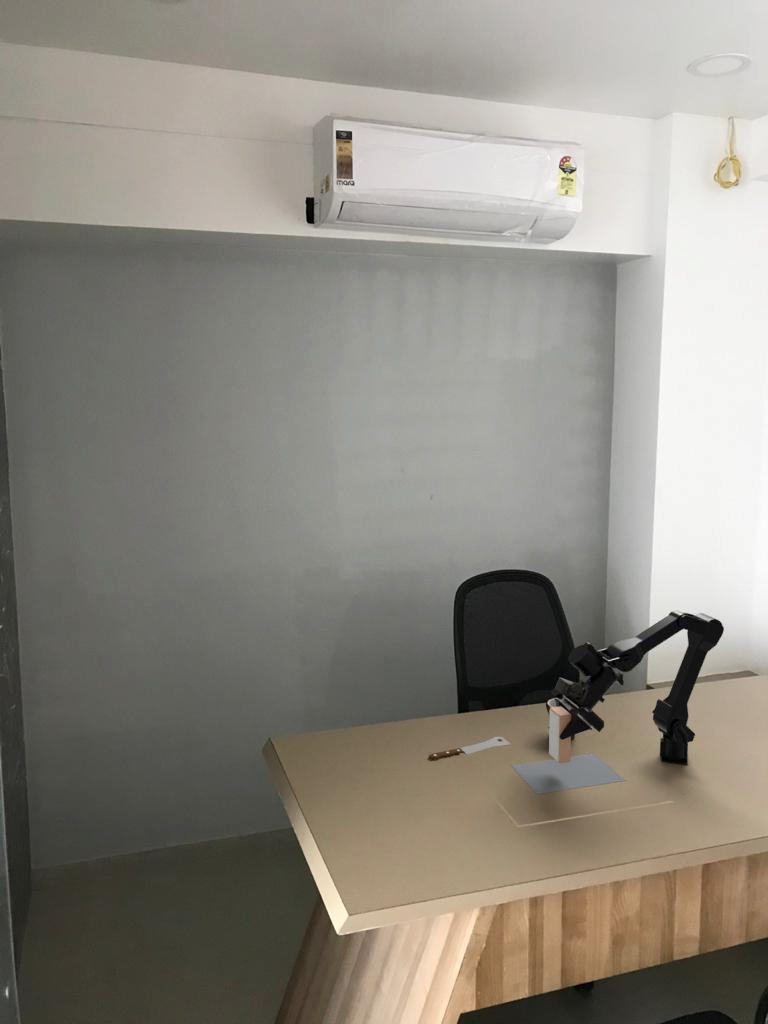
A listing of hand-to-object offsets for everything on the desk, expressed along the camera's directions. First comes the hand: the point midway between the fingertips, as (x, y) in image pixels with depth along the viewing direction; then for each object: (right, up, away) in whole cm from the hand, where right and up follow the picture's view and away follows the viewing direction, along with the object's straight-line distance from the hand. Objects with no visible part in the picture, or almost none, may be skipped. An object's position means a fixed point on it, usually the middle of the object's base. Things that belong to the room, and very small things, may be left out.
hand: (555, 733), depth 218 cm
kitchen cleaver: (-19, -10, +16) cm, 26 cm away
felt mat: (+4, -11, +3) cm, 12 cm away
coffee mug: (+7, -7, +26) cm, 28 cm away
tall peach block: (+1, -6, +1) cm, 7 cm away
